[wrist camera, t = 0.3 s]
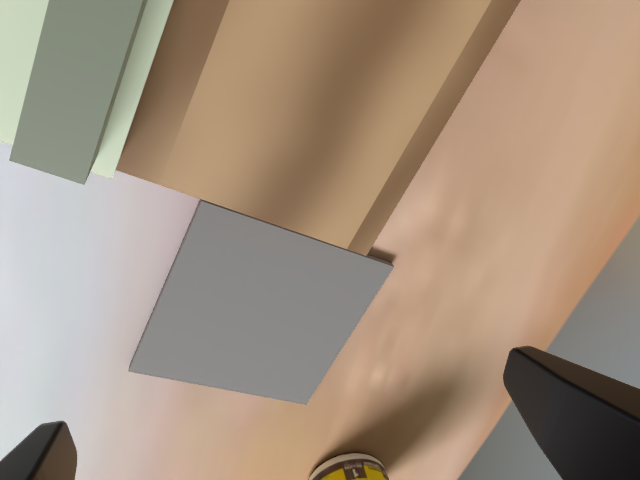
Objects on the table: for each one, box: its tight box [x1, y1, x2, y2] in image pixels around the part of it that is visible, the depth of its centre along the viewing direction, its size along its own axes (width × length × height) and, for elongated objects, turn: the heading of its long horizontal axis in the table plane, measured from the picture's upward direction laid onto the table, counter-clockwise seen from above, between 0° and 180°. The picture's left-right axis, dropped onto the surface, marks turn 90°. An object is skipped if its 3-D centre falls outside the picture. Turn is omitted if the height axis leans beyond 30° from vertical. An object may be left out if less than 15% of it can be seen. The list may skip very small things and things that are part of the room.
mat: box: [129, 199, 394, 405], centre depth 25 cm, size 10×10×1 cm
